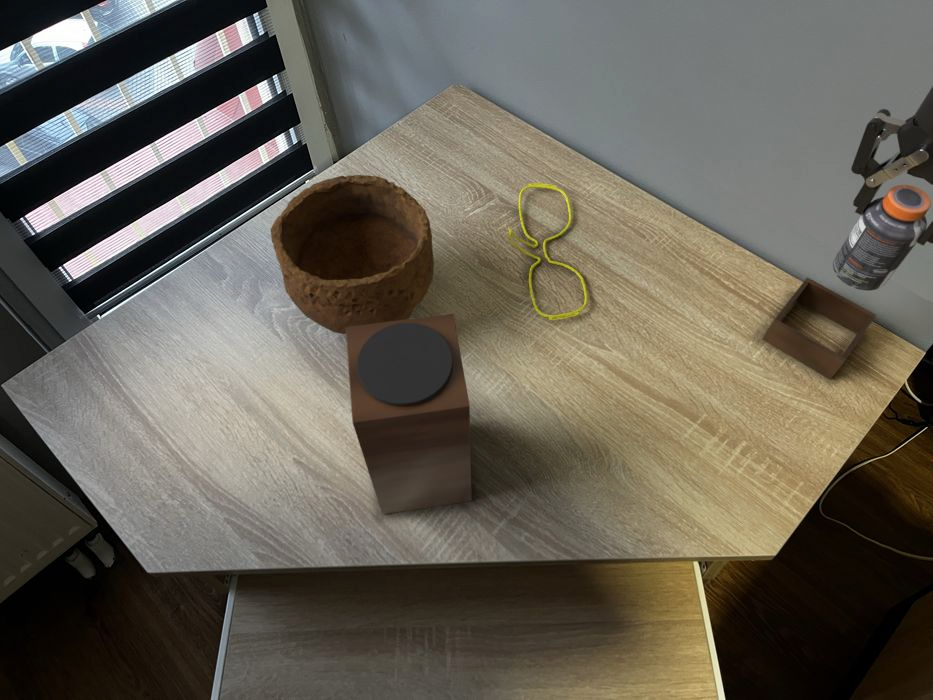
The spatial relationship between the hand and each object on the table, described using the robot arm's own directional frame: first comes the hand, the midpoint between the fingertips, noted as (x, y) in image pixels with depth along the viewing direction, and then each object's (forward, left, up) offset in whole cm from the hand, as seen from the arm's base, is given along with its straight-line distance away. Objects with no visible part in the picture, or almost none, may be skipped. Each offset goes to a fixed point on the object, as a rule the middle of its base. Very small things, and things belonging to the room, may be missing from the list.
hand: (892, 224), depth 72 cm
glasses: (+20, +31, -21) cm, 42 cm away
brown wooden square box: (0, 0, -21) cm, 21 cm away
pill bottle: (0, 0, -8) cm, 8 cm away
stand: (-10, +51, -21) cm, 56 cm away
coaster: (-10, +51, +1) cm, 52 cm away
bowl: (+15, +56, -21) cm, 62 cm away
